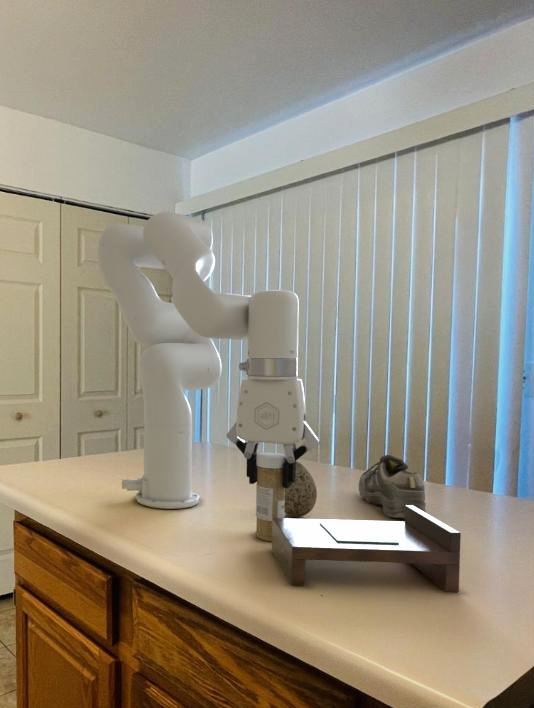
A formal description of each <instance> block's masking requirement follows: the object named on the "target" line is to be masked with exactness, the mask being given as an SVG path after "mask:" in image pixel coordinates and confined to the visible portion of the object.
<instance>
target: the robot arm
mask: <svg viewBox="0 0 534 708" xmlns="http://www.w3.org/2000/svg"><path fill="white" fill-rule="evenodd" d="M213 242H214V235H213V231H212V228H211V227H210V226H209V224H208V223H207V222H206V220H203V219H201V218H199V217H195V216H191V215H186V214H185V215H184V214H181V213H176V212H169V211H164V212H163V211H162V212H159V213H155V214H154V215H151V217H149V218H148V219H147V220H146V222H145V224H144V226H141V225H137V224H130V223H119V224H118V223H117V224H113V225H111V226H108V227H106V228H105V229H104V230H103V231H102V233H101V234H100V236H99V239H98V242H97V252H96V253H97V263H98V268H99V271H100V274H101V277H102V278H103V281H104V282H105V284H106V285H107V287H108V289H109V290H110V292H111V294H112V295H113V297H114V299H115V301H116V303H117V305H118V309H119V311H120V313H121V315H122V317H123V320H124V322H125V324H126V327H127V329H128V331H129V334H130V335H131V337H132V339H133V341H134V342H135V343H136V344H137V345H139V346H142V347H146V349H145V350H144V351H143V352H142V354H141V356H140V357H139V361H138V373H139V378H140V385H141V390H142V397H143V398H142V399H143V474H142V478H141V477H138V478H137V479H125V478H124V479H123V478H122V479H121V489H122V490H126V491H127V492H129V491H130V492H133V491H136V494H135V498H136V499H135V500H136V501H137V503H139V504H141V505H143V506H146V507H150V508H155V509H164V510H165V509H166V510H167V509H168V510H173V509H175V510H177V509H186V508H191V507H194V506H197V505H198V504H199V503H200V495H199V494H198V493H197V492H195V491H193V490H192V477H193V476H192V473H193V469H192V468H193V467H192V466H193V464H192V463H193V461H192V458H193V457H192V456H193V450H192V449H193V414H192V408H191V406H190V402H189V400H188V398H187V397H186V394H185V392H184V391H198V390H207V389H209V388H212V387H214V386H215V385H216V384H217V383H218V382H219V380H220V378H221V375H222V360H221V357H220V354H219V352H218V351H219V350H217V348H216V345H215V343H214V341H213V339H215V340H216V339H219V340H239V341H240V340H244V341H246V340H247V358H246V361H244V362H239V365H238V369H239V371H240V372H244V373H246V375H247V377H245V378H242V379H241V383H240V388H239V394H238V400H237V410H236V420H235V423H234V424H233V426H232V427H231V428H230V429H229V431H227V433H226V438H227V439H228V440H229V441H230V442H231V443H232V444H233V445H235V446H236V448H237V449H238V450H239V451H240V452H241V453H242V454H243V457H244V459H246V477H247V478H248V480H249V481H248V484H249V485H255V483H256V484H257V465H256V455H257V454H258V448H259V446H260V443H264V444H277V445H283V450H284V455H285V456H286V462H285V463H283V487H284V488H287V489H288V488H289V487H290V486H291V485H292V483H294V482H295V479H296V462H297V461H298V460H299V459H300V458H302V456H303V455H306V453H307V452H309V451H311V450H313V449H314V448H316V447H317V446H319V445H320V443H321V441H320V439H319V437H318V436H317V435H316V434H315V432H314V431H313V429H312V428H311V427H310V425H309V424H308V423H307V409H306V407H307V406H306V397H305V390H304V385H303V379H301V378H298V372H299V371H298V370H299V367H298V365H299V364H298V363H299V313H300V311H299V309H300V308H299V307H300V304H299V303H300V302H299V297H298V295H297V294H296V293H295V292H294V291H291V290H287V289H268V290H260V291H256V292H254V293H252V294H251V295H246V294H238V293H228V292H216V291H214V290H213V289H212V288H211V287H210V286H209V285H208V284H207V283H206V282H205V281H206V280H207V279H209V277H210V276H211V274H212V272H214V269H215V264H216V258H215V255H214V253H213V251H212V247H213ZM138 267H140V268H146V269H147V268H149V269H156V270H160V269H161V270H163V269H165V270H166V272H167V273H168V274H169V276H170V277H171V278H172V285H171V294H172V302H167V301H164V300H162V299H161V298H160V296H159V295H158V292H157V291H156V289H155V287H154V285H153V283H152V281H151V280H150V279H149V277H148V276H146V274H144V272H142V271H141V270H140V269H138ZM304 439H305V440H306V442H304V443H303V444H302V445H300V446H298V447H297V443H299V442H301V441H302V440H304Z"/></svg>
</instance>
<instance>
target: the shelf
mask: <svg viewBox="0 0 534 708" xmlns="http://www.w3.org/2000/svg"><path fill="white" fill-rule="evenodd" d="M461 536H462V534H461V532H460V531H458V530H457V529H455V528H453V527H452V526H450V525H447V524H446V523H444V522H442V521H441V520H439V519H438V518H436V517H435V516H433V515H430V514H428V513H427V512H426V513H425V512H424V511H422V510H420V509H418V508H417V507H415V506H413V505H405V518H404V521H397V520H366V519H365V520H364V519H363V520H361V519H358V520H357V519H327V518H326V519H325V518H293V517H292V518H291V517H290V518H288V517H286V518H285V517H284V518H272V541H271V548H270V551H271V553H272V554H273V556H274V558H275V560H276V561H277V563H278V565H279V567H280V568H281V570H282V571H283V573H284V575H285V577H286V578H287V580H288V582H289V584H290V585H291V586H295V587H305V585H306V584H305V582H306V581H305V580H306V579H305V578H306V560H308V561H334V562H335V561H337V562H338V561H339V562H340V561H341V562H365V563H366V562H367V563H392V564H393V563H396V564H411V565H412V566H414V567H415V568H416V569H417V570H418V571H420V572H421V573H422V574H423V575H424V576H426V577H427V578H428V579H429V580H430V581H432V582H433V583H434V584H436V585H437V586H438V587H439V588H441V589H442V590H443V591H444V592H445V593H446V592H448V593H459V592H460V567H461V565H460V564H461V562H460V561H461V538H462V537H461Z"/></svg>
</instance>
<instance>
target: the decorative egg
mask: <svg viewBox="0 0 534 708" xmlns="http://www.w3.org/2000/svg"><path fill="white" fill-rule="evenodd" d="M284 489H285V514H287V515H289V516H290V517H294V518H295V517H296V518H299V517H300V518H301V517H303V516H306V515H307V514H310V512H311V511H312V510H313V509H314V507H315V505H316V502H317V497H318V491H317V486H316V483H315V480H314V478H313V476H312V474H311V473H310V472H309V470H308V468H307V467H306V466H304V465H303V464H302V463H301V462H300V461H296V479H295V482H294V483H292V485H291V486H290V487H289V488H288V489H287V488H284Z"/></svg>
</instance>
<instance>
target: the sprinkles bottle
mask: <svg viewBox="0 0 534 708" xmlns="http://www.w3.org/2000/svg"><path fill="white" fill-rule="evenodd" d="M285 462H286V455H285V453H284V454H283V453H280V452H271V451H270V452H269V451H268V452H267V451H266V452H257V455H256V465H257V482H256V489H255V490H256V491H255V493H256V494H255V495H256V496H255V508H256V509H255V516H256V530H255V536H256V537H257V538H258V539H260V540H263V541H267V542H272V518H285V515H286V513H285V489H284V487H283V463H285Z"/></svg>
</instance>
